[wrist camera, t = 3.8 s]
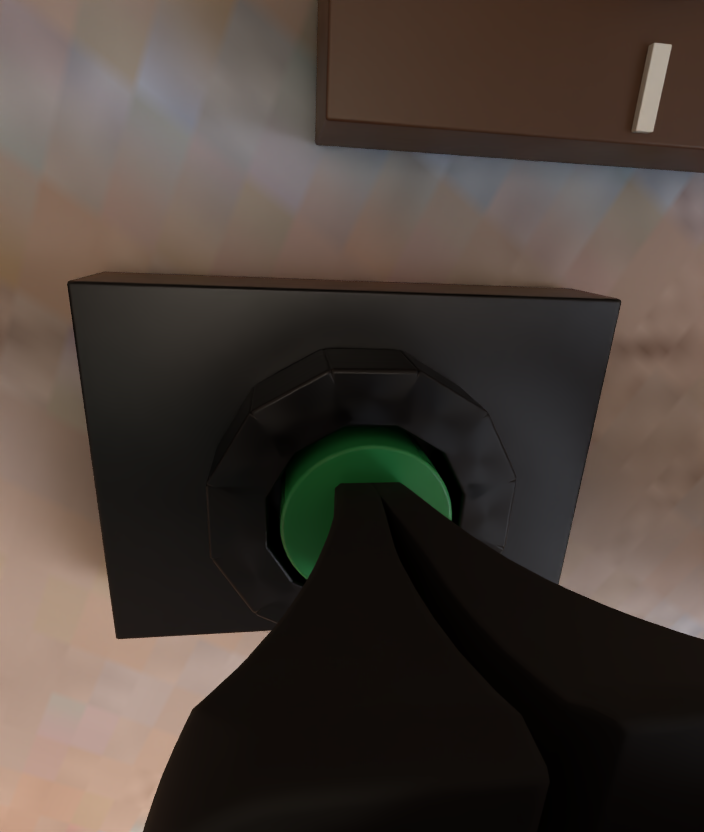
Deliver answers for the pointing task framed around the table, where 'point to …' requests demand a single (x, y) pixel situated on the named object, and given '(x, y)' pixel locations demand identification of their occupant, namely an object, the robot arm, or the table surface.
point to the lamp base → (318, 421)
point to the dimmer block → (515, 79)
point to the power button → (348, 463)
